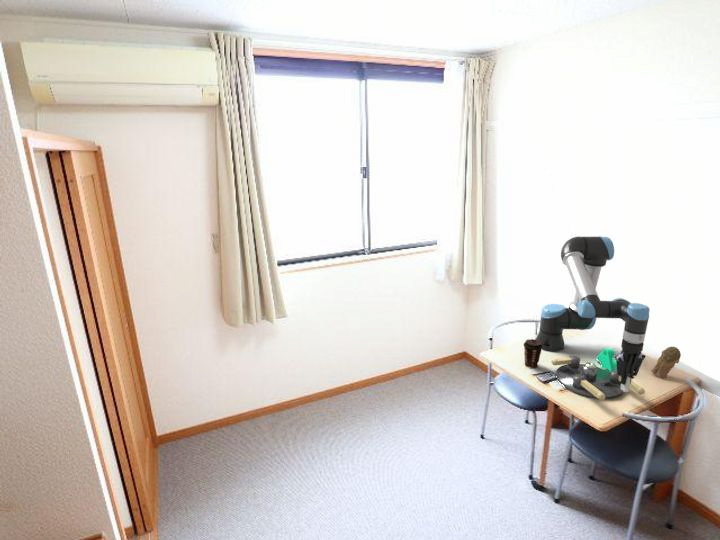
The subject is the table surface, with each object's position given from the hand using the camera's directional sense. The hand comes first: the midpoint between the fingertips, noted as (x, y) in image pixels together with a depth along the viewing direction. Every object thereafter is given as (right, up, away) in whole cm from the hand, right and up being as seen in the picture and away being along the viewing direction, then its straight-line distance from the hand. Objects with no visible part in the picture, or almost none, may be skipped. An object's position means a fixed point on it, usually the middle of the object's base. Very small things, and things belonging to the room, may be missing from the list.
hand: (624, 390), depth 178 cm
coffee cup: (-27, +3, +33) cm, 42 cm away
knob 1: (-14, -3, +3) cm, 14 cm away
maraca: (-13, +4, +26) cm, 29 cm away
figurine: (+32, +1, +20) cm, 37 cm away
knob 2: (+5, -1, +6) cm, 8 cm away
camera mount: (+12, +3, +29) cm, 32 cm away
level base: (-6, -1, +17) cm, 18 cm away
